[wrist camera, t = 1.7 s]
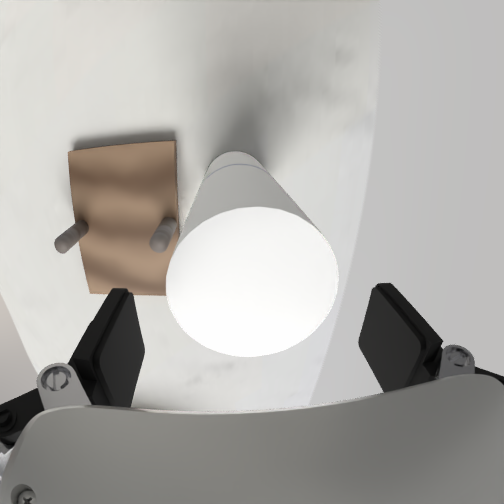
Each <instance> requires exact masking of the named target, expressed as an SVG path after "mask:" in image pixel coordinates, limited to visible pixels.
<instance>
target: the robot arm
mask: <svg viewBox="0 0 504 504" xmlns="http://www.w3.org/2000/svg"><path fill="white" fill-rule="evenodd" d="M442 342H443V340H442V339H441V338H440V337H439V336H438V334H437V333H436V332H435V331H434V330H433V329H432V327H431V326H430V325H429V324H428V323H427V322H426V321H425V319H424V318H423V317H422V316H421V315H420V314H419V313H418V312H417V311H416V309H415V308H414V307H413V306H412V305H411V304H410V303H409V302H408V301H407V300H406V298H405V297H404V296H403V295H402V294H401V293H400V292H399V291H398V290H397V289H396V288H395V287H394V286H393V285H392V284H391V283H380V284H377V285H376V287H374V288H373V289H372V291H371V296H370V300H369V304H368V307H367V311H366V315H365V319H364V322H363V326H362V330H361V333H360V337H359V342H358V343H359V347H360V349H361V351H362V353H363V355H364V356H365V358H366V360H367V362H368V364H369V366H370V367H371V369H372V371H373V373H374V375H375V377H376V379H377V380H378V382H379V384H380V386H381V388H382V390H383V392H384V393H380V394H376V395H371V396H366V397H361V398H355V399H350V400H343V401H337V402H331V403H325V404H317V405H309V406H300V407H291V408H280V409H267V410H250V411H171V410H152V409H138V408H130V407H131V403H132V399H133V395H134V391H135V387H136V384H137V380H138V376H139V373H140V369H141V365H142V362H143V358H144V354H145V348H144V343H143V339H142V334H141V330H140V326H139V321H138V316H137V311H136V307H135V301H134V296H133V293H132V292H129V291H128V289H127V288H112V289H111V291H110V293H109V294H108V296H107V298H106V299H105V301H104V303H103V304H102V306H101V308H100V309H99V311H98V313H97V314H96V316H95V318H94V320H93V321H91V323H90V324H89V326H88V328H87V329H86V331H85V333H84V335H83V336H82V338H81V340H80V342H79V344H78V346H77V347H76V349H75V351H74V353H73V355H72V357H71V359H70V361H69V362H68V364H65V363H54V364H51V365H49V366H47V367H45V368H44V369H43V370H42V371H41V372H40V373H39V375H38V377H37V387H38V388H36V389H34V390H32V391H30V392H28V393H25V394H23V395H21V396H19V397H17V398H14V399H12V400H10V401H8V402H5V403H3V404H1V405H0V504H504V377H503V376H500V375H498V374H495V373H492V372H489V371H486V370H483V369H480V368H478V367H475V361H474V357H473V356H472V354H471V353H470V352H469V351H468V350H467V349H465V348H464V347H461V346H458V345H449V346H446V347H445V348H444V349H442V347H441V345H442Z"/></svg>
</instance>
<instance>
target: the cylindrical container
mask: <svg viewBox="0 0 504 504" xmlns="http://www.w3.org/2000/svg"><path fill="white" fill-rule="evenodd" d="M338 280H339V274H338V266H337V261H336V258H335V255H334V253H333V250H332V248H331V246H330V245H329V243H328V242H327V240H326V239H325V237H324V236H323V235H322V233H321V232H320V231H319V230H318V229H317V227H316V226H315V225H314V224H313V223H312V222H311V220H310V219H309V218H308V217H307V216H306V214H305V213H304V212H303V211H302V210H301V209H300V208H299V206H298V205H297V204H296V203H295V202H294V201H293V199H292V198H291V197H290V196H289V195H288V194H287V193H286V192H285V190H284V189H283V188H282V187H281V186H280V185H279V184H278V183H277V182H276V180H275V179H274V178H273V177H272V176H271V175H270V174H269V173H268V172H267V171H266V169H265V168H264V167H263V166H262V165H261V164H260V163H259V162H258V161H257V160H256V159H255V158H254V157H252V156H251V155H249V154H247V153H244V152H239V151H232V152H227V153H224V154H222V155H220V156H218V157H217V158H216V159H215V160H214V161H213V162H212V163H211V164H210V166H209V168H208V170H207V172H206V174H205V176H204V179H203V181H202V183H201V186H200V188H199V191H198V193H197V195H196V198H195V200H194V202H193V205H192V207H191V209H190V212H189V214H188V217H187V219H186V222H185V224H184V227H183V229H182V232H181V234H180V237H179V239H178V242H177V244H176V247H175V249H174V252H173V255H172V257H171V260H170V263H169V267H168V271H167V275H166V295H167V299H168V303H169V307H170V309H171V311H172V313H173V315H174V317H175V320H176V321H177V322H178V324H179V325H180V326H181V327H182V329H183V330H184V331H185V332H186V333H187V334H188V335H189V336H191V337H192V338H193V339H194V340H196V341H197V342H199V343H200V344H202V345H204V346H205V347H207V348H210V349H212V350H215V351H217V352H220V353H224V354H229V355H233V356H246V357H253V356H263V355H268V354H272V353H276V352H280V351H282V350H285V349H287V348H290V347H292V346H294V345H296V344H297V343H299V342H301V341H302V340H304V339H305V338H307V337H308V336H309V335H310V334H311V333H313V332H314V331H315V330H316V329H317V328H318V327H319V325H320V324H321V323H322V322H323V321H324V320H325V318H326V317H327V315H328V313H329V311H330V310H331V308H332V306H333V303H334V300H335V297H336V294H337V290H338Z"/></svg>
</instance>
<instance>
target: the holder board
mask: <svg viewBox="0 0 504 504" xmlns="http://www.w3.org/2000/svg"><path fill="white" fill-rule="evenodd" d="M68 163H69V175H70V186H71V195H72V203H73V210H74V217H75V224H74V225H73V226H71V227H70V228H69V229H68V230H66V231H65V232H64V233H63V234H61V235H60V236H59V237H58V238H56V240H55V243H54V244H55V248H56V250H57V251H58V252H60V253H66V252H67V251H68V250H69V249H70V248H71V247H72V246H73V245H75V244H76V243H77V242H78V241H79V246H80V251H81V256H82V261H83V266H84V270H85V275H86V279H87V283H88V287H89V291H90V294H109V293H110V291H111V289H112V288H127V289H128V291H129V292H132V293H133V295H159V296H167V295H166V275H167V271H168V267H169V263H170V260H171V257H172V255H173V252H174V249H175V247H176V244H177V242H178V239H179V237H180V234H179V217H178V195H177V157H176V140H174V141H156V142H143V143H131V144H121V145H111V146H103V147H95V148H87V149H80V150H74V151H69V152H68Z"/></svg>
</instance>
